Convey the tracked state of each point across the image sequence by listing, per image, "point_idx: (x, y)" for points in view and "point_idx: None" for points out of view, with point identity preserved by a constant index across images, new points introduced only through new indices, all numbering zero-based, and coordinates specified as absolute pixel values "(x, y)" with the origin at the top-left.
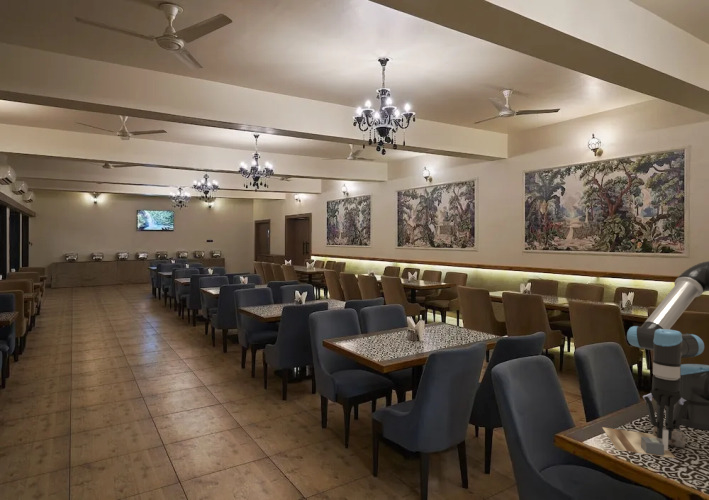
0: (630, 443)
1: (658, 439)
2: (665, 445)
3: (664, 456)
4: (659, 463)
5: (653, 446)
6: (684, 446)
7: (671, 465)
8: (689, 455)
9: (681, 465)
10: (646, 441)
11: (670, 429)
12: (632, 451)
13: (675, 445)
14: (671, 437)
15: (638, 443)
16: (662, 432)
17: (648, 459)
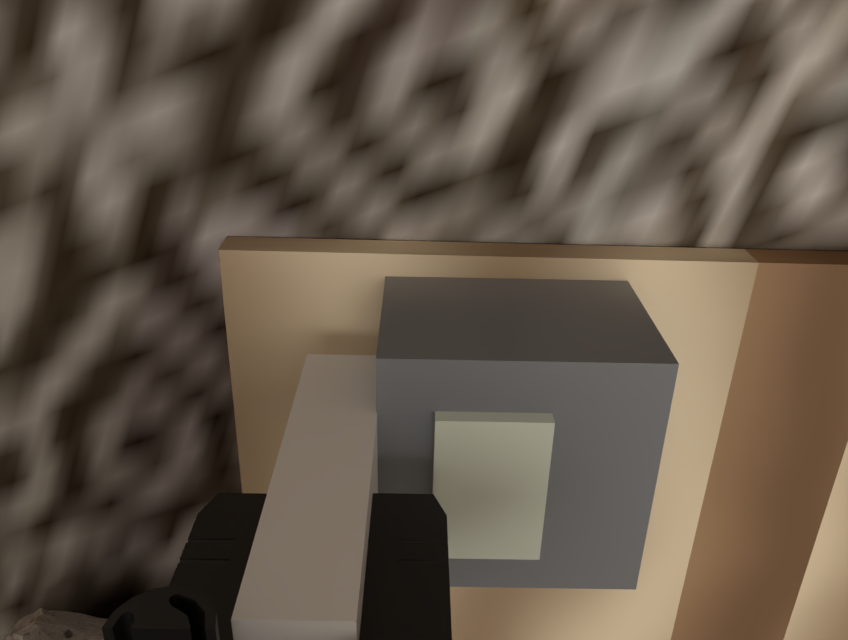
0: (695, 540)
1: None
2: (335, 395)
3: (381, 255)
4: (528, 33)
5: (547, 335)
6: (17, 623)
7: (358, 19)
8: (9, 471)
9: (198, 81)
10: (652, 413)
11: (179, 628)
12: (822, 275)
13: None
14: (192, 529)
15: None
16: (364, 590)
17: (642, 138)
